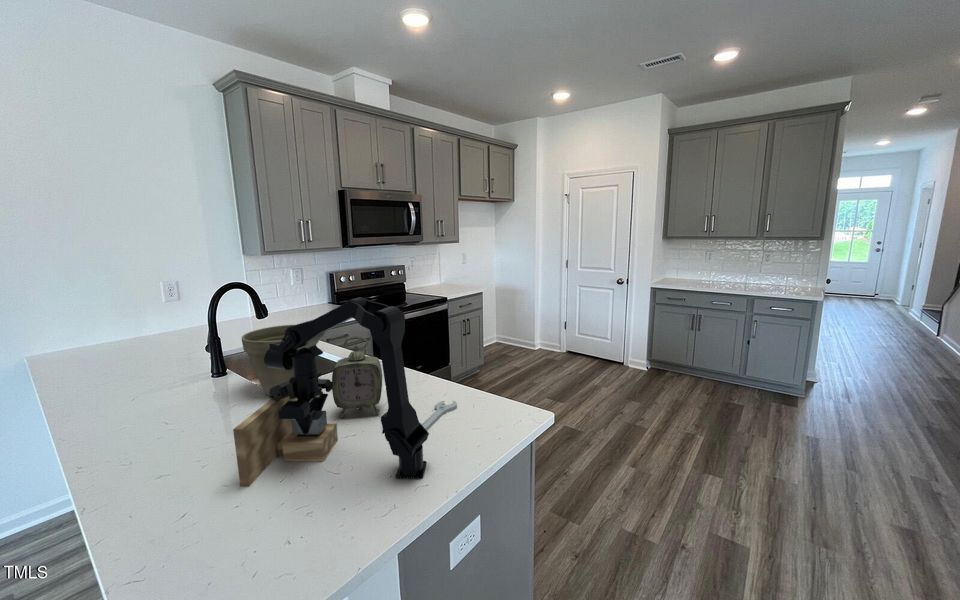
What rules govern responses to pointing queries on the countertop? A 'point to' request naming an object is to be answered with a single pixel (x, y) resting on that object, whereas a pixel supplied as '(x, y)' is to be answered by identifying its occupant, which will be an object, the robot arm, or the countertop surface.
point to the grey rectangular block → (312, 424)
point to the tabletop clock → (357, 380)
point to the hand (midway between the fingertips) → (310, 428)
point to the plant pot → (257, 348)
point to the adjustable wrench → (438, 413)
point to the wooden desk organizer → (276, 441)
